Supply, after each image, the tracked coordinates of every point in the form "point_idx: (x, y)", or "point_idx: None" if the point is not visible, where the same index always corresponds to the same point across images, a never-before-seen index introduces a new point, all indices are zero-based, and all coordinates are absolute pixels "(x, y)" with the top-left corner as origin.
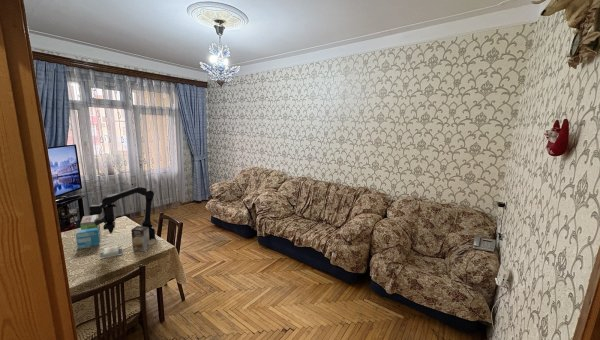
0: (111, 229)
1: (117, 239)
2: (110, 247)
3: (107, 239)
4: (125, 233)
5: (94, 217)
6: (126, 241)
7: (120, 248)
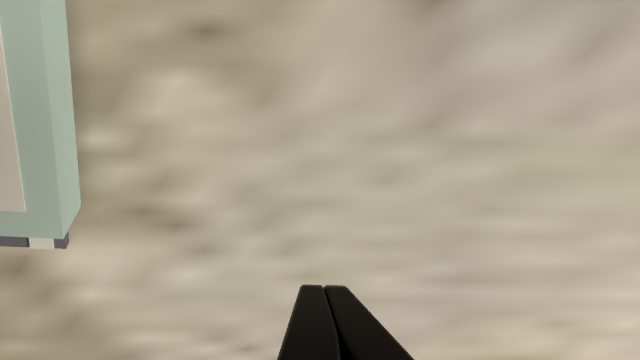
0: None
1: (492, 194)
2: (18, 101)
3: (623, 53)
4: (622, 291)
5: None
6: None
7: None
